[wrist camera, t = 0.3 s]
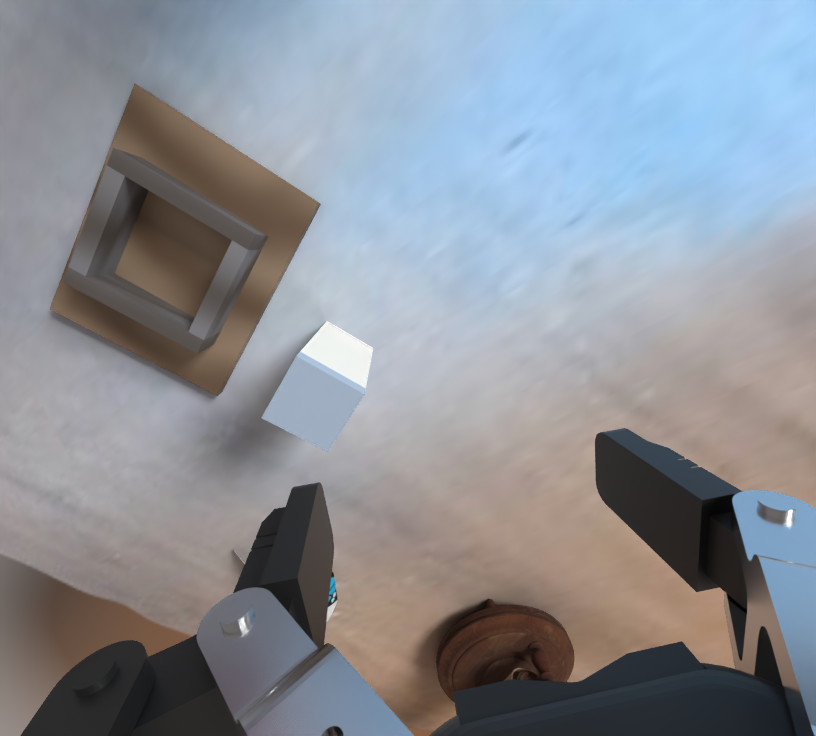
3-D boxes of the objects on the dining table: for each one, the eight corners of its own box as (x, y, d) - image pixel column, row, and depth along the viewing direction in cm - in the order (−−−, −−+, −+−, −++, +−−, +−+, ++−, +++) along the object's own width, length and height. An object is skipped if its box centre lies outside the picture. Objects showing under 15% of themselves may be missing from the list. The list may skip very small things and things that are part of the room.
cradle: (143, 89, 28) (103, 63, 24) (320, 203, 30) (310, 197, 26) (59, 307, 32) (14, 315, 28) (222, 391, 34) (200, 409, 31)
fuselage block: (326, 320, 33) (296, 355, 22) (373, 348, 34) (364, 394, 23) (301, 364, 34) (261, 417, 24) (347, 390, 35) (328, 452, 24)
